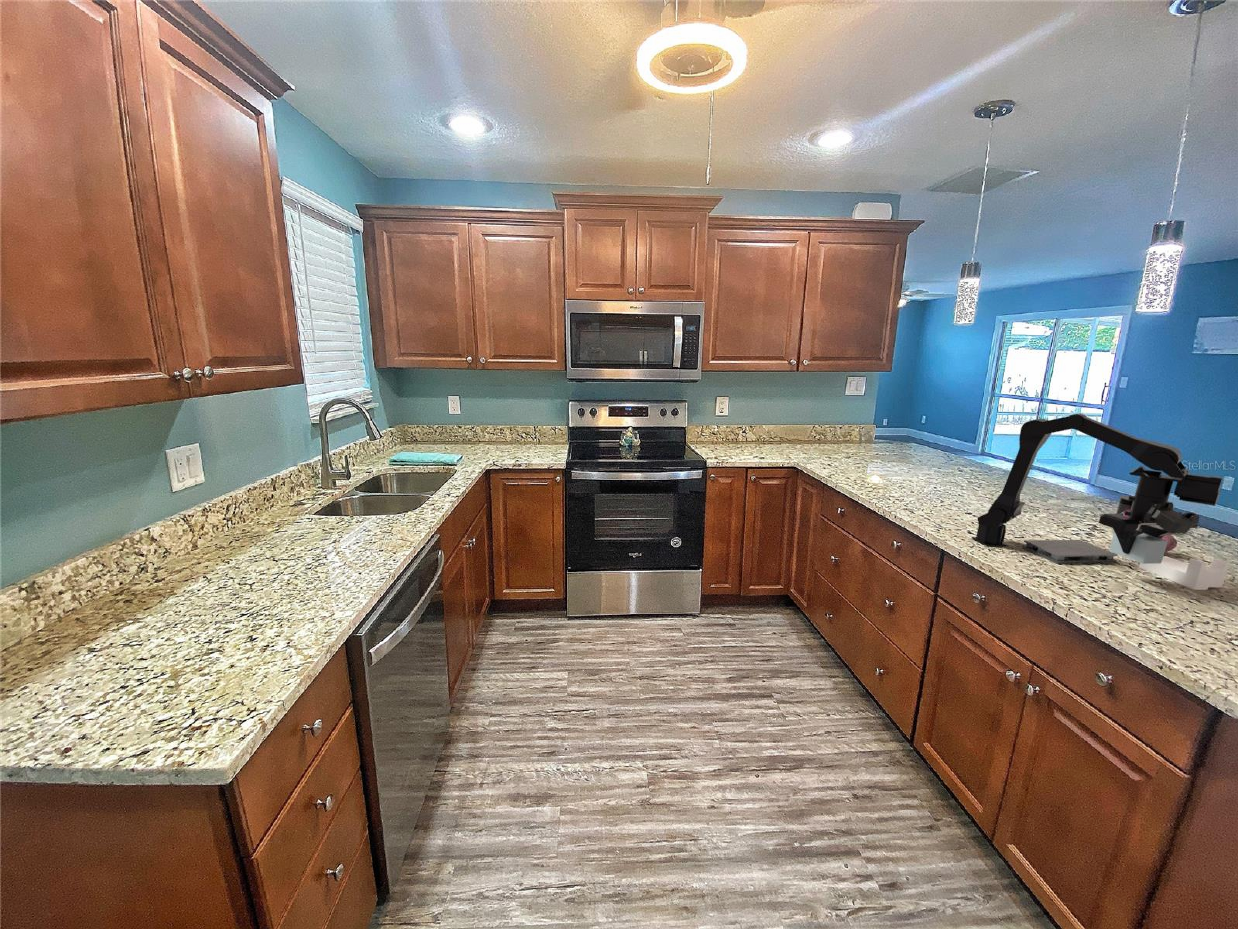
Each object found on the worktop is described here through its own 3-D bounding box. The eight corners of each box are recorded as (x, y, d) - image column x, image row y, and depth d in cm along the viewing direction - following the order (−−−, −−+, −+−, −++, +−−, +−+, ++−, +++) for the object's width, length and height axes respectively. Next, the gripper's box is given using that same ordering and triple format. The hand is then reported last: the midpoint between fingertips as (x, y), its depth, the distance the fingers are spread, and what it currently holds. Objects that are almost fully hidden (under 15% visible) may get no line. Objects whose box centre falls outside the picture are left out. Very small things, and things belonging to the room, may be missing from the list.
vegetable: (1167, 559, 139) (1177, 527, 137) (1138, 551, 145) (1147, 520, 142) (1176, 556, 142) (1186, 524, 139) (1147, 548, 147) (1156, 517, 145)
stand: (1056, 563, 135) (1058, 555, 135) (1022, 548, 146) (1024, 540, 145) (1115, 562, 136) (1117, 554, 136) (1077, 547, 147) (1079, 539, 146)
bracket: (1220, 590, 121) (1229, 563, 120) (1193, 590, 121) (1202, 563, 120) (1162, 568, 134) (1170, 542, 132) (1138, 568, 134) (1145, 542, 132)
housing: (1142, 563, 120) (1149, 540, 118) (1108, 550, 128) (1114, 528, 126) (1161, 563, 120) (1168, 540, 119) (1126, 550, 128) (1132, 528, 127)
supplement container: (1107, 525, 167) (1114, 496, 165) (1122, 524, 168) (1130, 495, 166) (1130, 532, 161) (1138, 502, 158) (1146, 531, 162) (1154, 501, 159)
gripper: (1154, 505, 112) (1137, 567, 115) (1227, 505, 113) (1207, 566, 117) (1104, 492, 122) (1089, 548, 126) (1171, 491, 124) (1154, 547, 127)
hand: (1135, 553), depth 124 cm, fingers closed on housing, 5 cm apart
